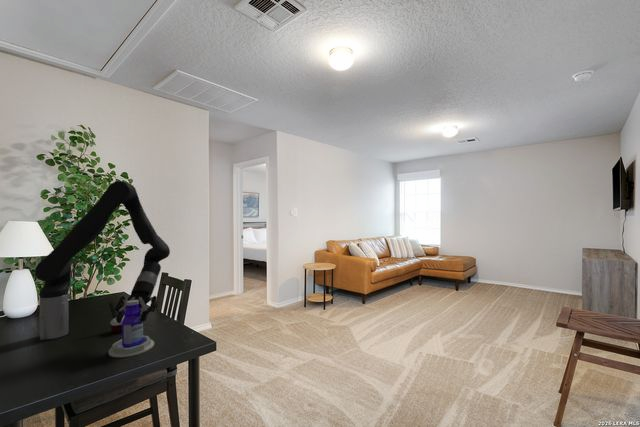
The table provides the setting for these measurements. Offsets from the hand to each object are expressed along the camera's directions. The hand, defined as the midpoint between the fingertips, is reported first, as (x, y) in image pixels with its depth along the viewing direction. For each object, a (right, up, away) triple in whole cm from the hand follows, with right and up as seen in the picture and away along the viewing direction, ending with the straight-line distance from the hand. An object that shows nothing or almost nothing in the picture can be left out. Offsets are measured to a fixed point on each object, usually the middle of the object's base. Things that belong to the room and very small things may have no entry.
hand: (129, 322), depth 116 cm
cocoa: (-17, -11, +19) cm, 27 cm away
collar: (0, -11, +1) cm, 11 cm away
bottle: (0, -10, +2) cm, 10 cm away
